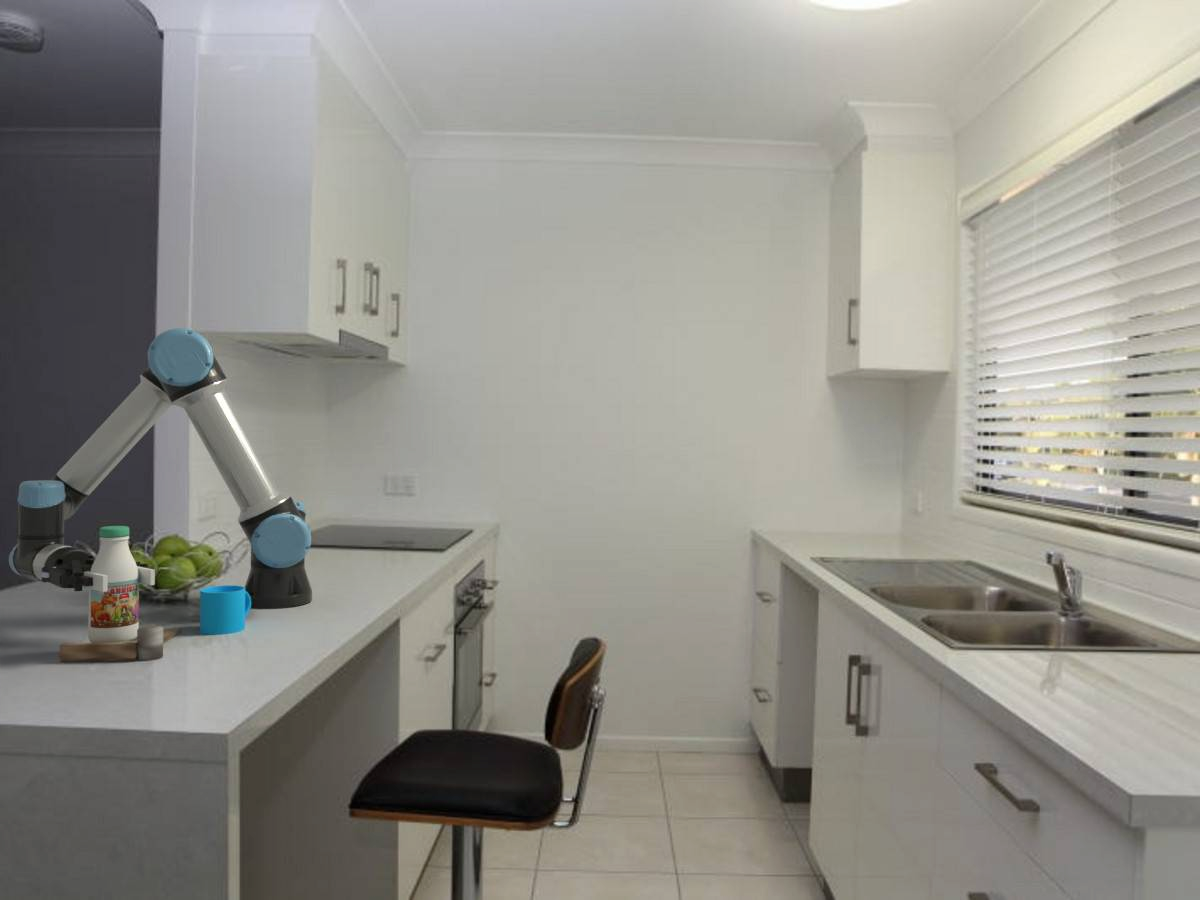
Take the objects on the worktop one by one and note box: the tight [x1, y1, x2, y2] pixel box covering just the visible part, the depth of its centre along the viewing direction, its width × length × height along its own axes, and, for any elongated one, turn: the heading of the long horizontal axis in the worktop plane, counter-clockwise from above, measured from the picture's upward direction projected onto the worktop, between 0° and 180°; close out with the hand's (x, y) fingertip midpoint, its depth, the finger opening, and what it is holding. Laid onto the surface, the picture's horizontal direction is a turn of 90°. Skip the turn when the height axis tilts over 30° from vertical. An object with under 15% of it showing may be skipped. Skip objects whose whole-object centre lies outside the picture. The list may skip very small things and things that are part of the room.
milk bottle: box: [87, 525, 140, 643], centre depth 149 cm, size 8×8×20 cm
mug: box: [199, 584, 252, 636], centre depth 169 cm, size 12×8×8 cm
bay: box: [58, 625, 181, 663], centre depth 153 cm, size 16×21×5 cm
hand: (129, 580), depth 146 cm, fingers closed on milk bottle, 7 cm apart
